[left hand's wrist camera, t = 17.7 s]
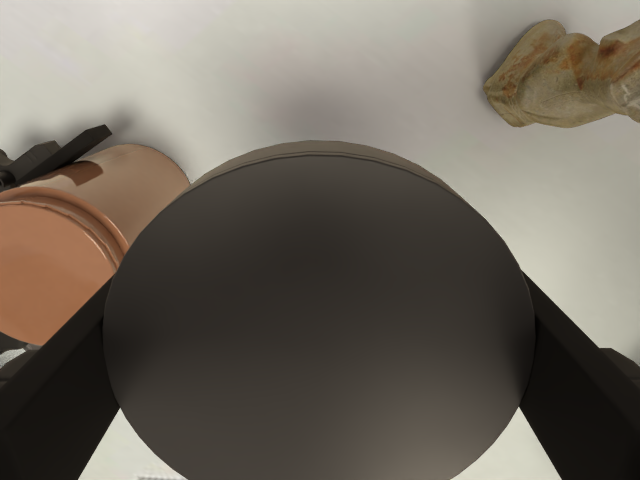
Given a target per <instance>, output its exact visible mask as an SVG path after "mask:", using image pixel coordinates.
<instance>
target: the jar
mask: <svg viewBox="0 0 640 480" xmlns="http://www.w3.org/2000/svg"><path fill="white" fill-rule="evenodd" d="M189 186H190V183H189V181H188V179H187V177H186V176H185V174H184V173H183V172H182V170H181V169H180V168H179V167H178V166H177V165H176V163H174V162H173V161H172V160H171V159H170V158H168V157H167V156H165V155H164V154H163V153H161V152H159V151H157V150H155V149H152V148H149V147H146V146H142V145H136V144H121V145H116V146H112V147H109V148H107V149H104V150H102V151H100V152H97V153H95V154H92V155H90V156H87V157H85V158H83V159H80V160H78V161H75V162H73V163H71V164H68V165H66V166H63V167H61V168H58V169H56V170H54V171H51V172H49V173H46V174H44V175H42V176H39V177H37V178H34V179H32V180H30V181H27V182H25V183H22V184H20V185H17V186H15V187H13V188H10V189H8V190H5V191H3V192H1V193H0V331H1V332H2V333H4V334H6V335H8V336H10V337H13V338H15V339H18V340H20V341H23V342H27V343H30V344H35V345H41V346H43V345H44V344H45V343H46V342H47V341H48V340H49V339H50V338H51V337H52V336H53V335H54V334H55V333H56V332H57V331H58V330H59V329H60V328H61V327H62V326H63V325H64V324H65V323H66V322H67V321H68V320H69V319H70V318H71V317H72V316H73V315H74V314H75V313H76V312H77V311H78V310H79V309H80V308H81V307H82V306H83V305H84V304H85V303H86V302H87V301H88V300H89V299H90V298H91V297H92V296H93V295H94V294H95V293H96V292H97V291H98V290H99V289H100V288H101V287H102V286H103V285H104V284H105V283H106V282H107V281H108V280H109V279H110V278H111V277H112V276H113V275H114V274H115V273H116V271H117V269H118V267H119V265H120V263H121V261H122V259H123V257H124V255H125V253H126V252H127V251H128V249H129V248H130V246H131V245H132V243H133V242H134V241H135V239H136V238H137V236H138V235H139V233H140V232H141V231H142V230H143V229H144V228H145V227H146V226H147V225H148V224H149V223H150V222H151V221H152V220H153V219H154V218H155V217H156V216H157V214H158V213H159V212H160V211H162V210H163V209H164V208H165V207H166V206H167V205H168V204H169V203H170V202H171V201H173V200H174V199H175V198H176V197H177V196H178V195H179V194H180V193H181V192H183V191H184V190H185V189H186V188H187V187H189Z"/></svg>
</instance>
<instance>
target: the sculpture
mask: <svg viewBox="0 0 640 480" xmlns="http://www.w3.org/2000/svg"><path fill="white" fill-rule="evenodd" d="M483 90H484V92H485V93H486V95H487V99H488V101H489V103H490V104H491V106H492V107H493V108H494V109H495V110H496V112H497V113H498V114H499V115H500V116H501V117H502V118H503V119H504V120H505V121H506V122H507V123H508V124H510V125H511V126H513V127H524V126H527V125H530V124H533V123H536V122H537V123H540V124H545V125H550V126H556V127H562V128H571V127H576V126H580V125H583V124H586V123H589V122H593V121H596V120H599V119H602V118H604V117H607V116H610V115H612V114H615V113H617V114H622V115H628V116H629V117H630V118H632V119H633V120H634V121H636V122H638V123H640V20H638V21H636V22H635V23H633V24H632V25H630V26H628V27H626V28H624V29H621V30H618V31H616V32H613V33H611V34H608V35H606V36H604V37H603V38H602V40H601V42H600V45H598V44H597V43H595V42H594V41H593V40H592V39H590V38H589V37H588V36H586V35H583V34H580V33H572V34H567V35H566V32H565V29H564V27H563V26H562V25H561V24H560V23H559V22H558V21H555V20H545V21H542V22H540V23H538V24H537V25H535V26H534V27H532V28H531V29H530V30H529V31H528V32H527V33H526V34H525V35H524V36H523V37H522V38H521V39H520V41H519V42H518V43H517V44H516V46H515V47H514V48H513V50H512V51H511V52H510V54H509V55H508V56H507V58H506V59H505V61H504V62H503V64H502V65H501V66H500V68H499V69H498V70H497V71H496V72H495V74H494V75H493V76H492V77H490V78H489V79H488V80H487V81H486V82H485V84H484V86H483Z"/></svg>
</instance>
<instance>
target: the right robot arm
mask: <svg viewBox="0 0 640 480" xmlns="http://www.w3.org/2000/svg"><path fill="white" fill-rule="evenodd" d="M111 134H112V133H111V131H110V130H109V129H108V128H107V126H106V125H101V126H98V127H95V128H91V129H88V130H85V131H84V132H83V133H81V134H80V135H79V136H77V137H76V138H75V139H73V140H72V141H71V142H69V143H68V144H66V145H65V146H64V147H62V148H61V147H60V146H59V145H58V144H57V143H56V141H55V140H54V141H49V142H45V143H42V144H39V145H35V146H34V147H33V148H31V149H30V150H29V151H27V152H26V153H25V154H23V155H22V156H21V157H19V158H18V159H17V160H15V161H13V160H11V159H9V158H7V155H6V153H5V152H4V151H3V150H1V149H0V193H1V192H3V191H5V190H8V189H10V188H13V187H15V186H17V185H20V184H22V183H25V182H27V181H30V180H32V179H34V178H37V177H39V176H42V175H44V174H46V173H49V172H51V171H54V170H56V169H58V168H61V167H63V166H66V165H68V164H71V163H73V162H74V161H75V160H77V159H78V158H80V157H81V156H82V155H84V154H85V153H86V152H88V151H89V150H91V149H92V148H93V147H95V146H96V145H97V144H99V143H100V142H102V141H103V140H104V139H106V138H107V137H109V136H110V135H111ZM41 347H42V346H41V345H35V344H30V343H27V342H23V341H20V340H18V339H15V338H13V337H10V336H8V335H6V334H4V333H2V332H1V331H0V355H1V354H2V353H4V352H6V351H8V350H16V349H22V348H23V349H24V350H26V351H28V350H39V349H40V348H41Z"/></svg>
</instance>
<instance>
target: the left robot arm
mask: <svg viewBox="0 0 640 480" xmlns="http://www.w3.org/2000/svg"><path fill="white" fill-rule="evenodd" d="M521 271H522V270H521ZM522 274H523V276H524V279H525V281H526V283H527V286H528V288H529V293H530V297H531V301H532V305H533V310H534V317H535V331H536V343H535V353H534V363H533V367H532V371H531V375H530V379H529V382H528V386H527V388H526V390H525V393H524V395H523V398H522V400H521V402H520V405H519V407H520V409H521V411H522V412H523V414H524V416H525V418H526V419H527V421H528V423H529V424H530V426H531V428H532V430H533V431H534V433H535V435H536V436H537V438H538V440H539V441H540V443H541V445H542V447H543V448H544V450H545V452H546V453H547V455H548V457H549V458H550V460H551V462H552V464H553V465H554V467H555V469H556V470H557V472H558V474H559V476H560V477H561V479H562V480H640V367H639V366H638V365H637V364H636V363H635V362H634V361H632V360H630V359H629V358H627V357H625V356H624V355H622V354H620V353H618V352H617V351H615V350H613V349H612V348H599V347H598V346H597V345H596V344H595V343H594V342H593V341H592V340H591V339H590V338H589V337H588V336H587V335H586V334H585V333H584V332H583V331H582V330H581V329H580V328H579V327H578V326H577V325H576V324H575V323H574V322H573V321H572V320H571V319H570V318H569V317H568V316H567V315H566V314H565V313H564V312H563V311H562V310H561V309H560V308H559V307H558V306H557V305H556V304H555V303H554V302H553V301H552V300H551V299H550V298H549V297H548V296H547V295H546V294H545V293H544V292H543V291H542V290H541V289H540V288H539V287H538V286H537V285H536V284H535V283H534V282H533V281H532V280H531V279H530V278H529V277H528V276H527V275H526V274H525V273H524V272H523V271H522ZM114 275H115V274H114ZM114 275H113V276H112V277H111V278H110V279H109V280H108V281H107V282H106V283H105V284H104V285H103V286H102V287H101V288H100V289H99V290H98V291H97V292H96V293H95V294H94V295H93V296H92V297H91V298H90V299H89V300H88V301H87V302H86V303H85V304H84V305H83V306H82V307H81V308H80V309H79V310H78V311H77V312H76V313H75V314H74V315H73V316H72V317H71V318H70V319H69V320H68V321H67V322H66V323H65V324H64V325H63V326H62V327H61V328H60V329H59V330H58V331H57V332H56V333H55V334H54V335H53V336H52V337H51V338H50V339H49V340H48V341H47V342H46V343H45V344H44V345H43V346H42V347H41V348H40V349H39V350H28V351H26V352H24V353H22V354H21V355H19V356H17V357H16V358H14V359H12V360H11V361H9V362H7V363H6V364H5V365H4V366H3V367H2V368H1V369H0V480H78V478H79V477H80V475H81V473H82V472H83V470H84V468H85V467H86V465H87V463H88V461H89V460H90V458H91V456H92V455H93V453H94V451H95V450H96V448H97V446H98V444H99V443H100V441H101V439H102V438H103V436H104V434H105V432H106V431H107V429H108V427H109V426H110V424H111V422H112V421H113V419H114V417H115V415H116V414H117V412H118V410H119V409H120V406H119V404H118V402H117V400H116V398H115V396H114V393H113V390H112V387H111V383H110V379H109V375H108V371H107V366H106V361H105V357H104V352H103V338H102V326H103V318H104V310H105V303H106V300H107V296H108V293H109V290H110V286H111V283H112V280H113V277H114Z"/></svg>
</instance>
